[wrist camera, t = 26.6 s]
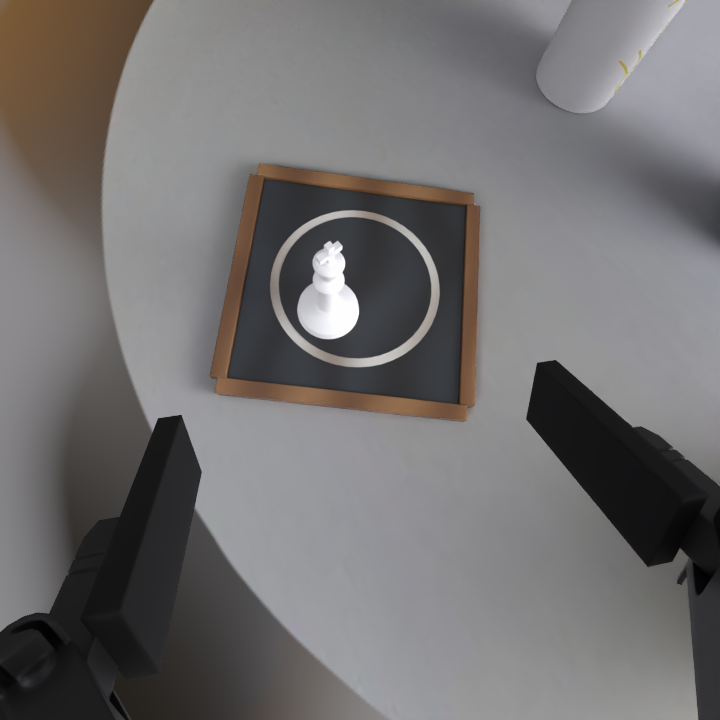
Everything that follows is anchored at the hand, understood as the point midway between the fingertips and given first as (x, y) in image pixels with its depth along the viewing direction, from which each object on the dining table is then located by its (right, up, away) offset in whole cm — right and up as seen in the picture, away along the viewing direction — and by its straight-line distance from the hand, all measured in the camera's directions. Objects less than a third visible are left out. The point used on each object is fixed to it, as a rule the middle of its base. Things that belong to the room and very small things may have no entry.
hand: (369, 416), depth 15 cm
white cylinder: (+22, +31, +27) cm, 46 cm away
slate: (-1, +8, +19) cm, 21 cm away
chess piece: (-3, +6, +18) cm, 19 cm away
